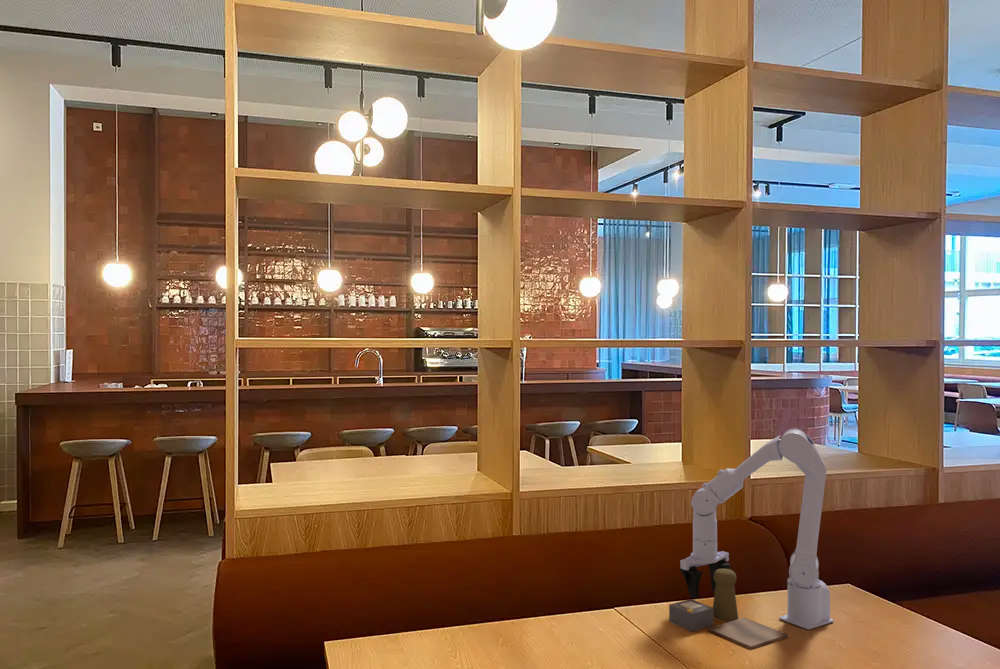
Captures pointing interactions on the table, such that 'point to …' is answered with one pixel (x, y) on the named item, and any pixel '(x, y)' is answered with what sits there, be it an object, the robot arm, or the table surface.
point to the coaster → (747, 633)
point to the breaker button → (691, 605)
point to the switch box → (691, 616)
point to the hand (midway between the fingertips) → (705, 594)
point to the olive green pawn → (725, 595)
